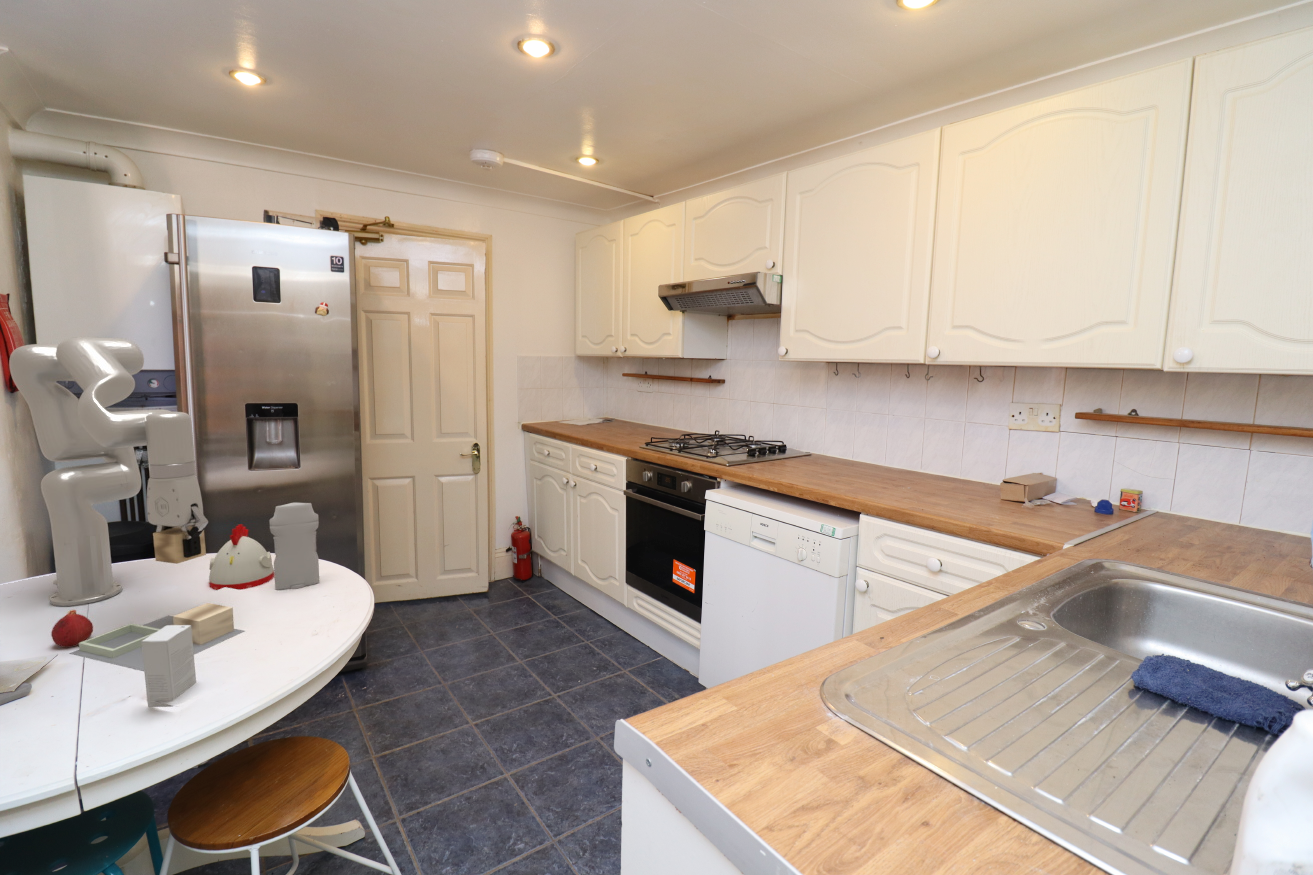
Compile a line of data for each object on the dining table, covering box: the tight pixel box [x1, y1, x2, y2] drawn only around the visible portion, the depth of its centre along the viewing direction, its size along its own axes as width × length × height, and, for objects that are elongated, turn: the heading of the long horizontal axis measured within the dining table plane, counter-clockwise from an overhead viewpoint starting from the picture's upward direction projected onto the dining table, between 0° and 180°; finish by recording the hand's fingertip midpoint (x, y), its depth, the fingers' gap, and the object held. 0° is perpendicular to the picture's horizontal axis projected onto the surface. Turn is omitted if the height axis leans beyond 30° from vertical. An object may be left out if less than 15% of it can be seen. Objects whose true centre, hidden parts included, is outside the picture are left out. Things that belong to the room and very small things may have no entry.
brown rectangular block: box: [172, 602, 235, 645], centre depth 122 cm, size 7×7×5 cm
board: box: [69, 615, 246, 672], centre depth 119 cm, size 22×18×1 cm
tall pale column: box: [268, 502, 320, 591], centre depth 151 cm, size 11×4×22 cm, turn 125°
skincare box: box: [141, 625, 197, 708], centre depth 102 cm, size 6×4×12 cm
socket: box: [78, 622, 160, 658], centre depth 118 cm, size 9×9×2 cm
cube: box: [152, 526, 207, 565], centre depth 125 cm, size 6×6×6 cm
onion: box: [50, 609, 94, 648], centre depth 117 cm, size 6×6×8 cm
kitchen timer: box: [208, 523, 275, 591], centre depth 154 cm, size 14×14×15 cm
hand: (180, 553), depth 126 cm, fingers closed on cube, 6 cm apart
